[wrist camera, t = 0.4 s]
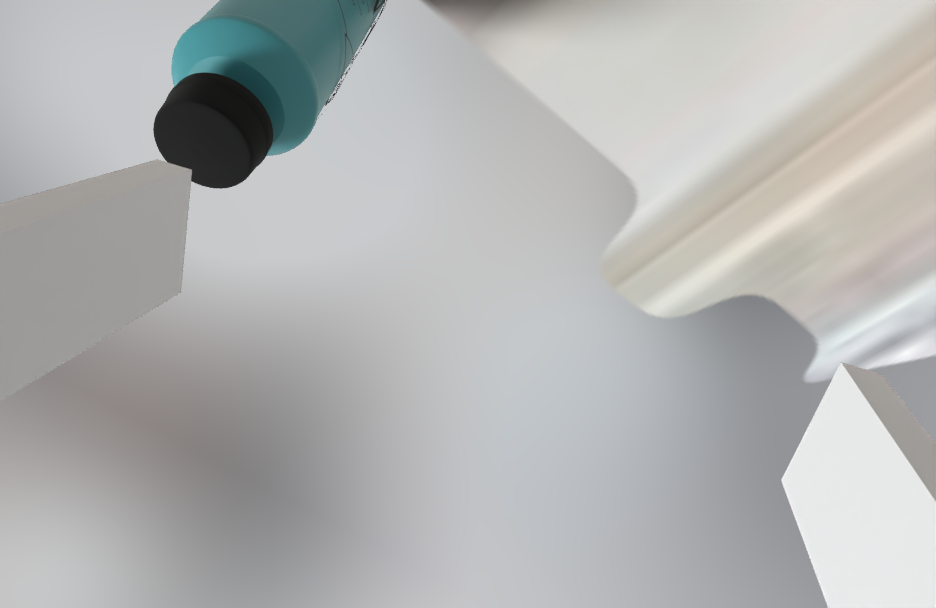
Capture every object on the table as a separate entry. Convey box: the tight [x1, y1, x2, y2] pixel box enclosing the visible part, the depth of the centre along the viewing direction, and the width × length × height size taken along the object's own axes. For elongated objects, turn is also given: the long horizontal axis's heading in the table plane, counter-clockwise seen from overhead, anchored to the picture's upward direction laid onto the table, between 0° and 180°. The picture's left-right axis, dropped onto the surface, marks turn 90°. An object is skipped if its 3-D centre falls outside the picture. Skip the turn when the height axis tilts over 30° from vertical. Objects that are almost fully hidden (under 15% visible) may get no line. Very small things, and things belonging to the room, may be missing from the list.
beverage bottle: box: [154, 0, 385, 188], centre depth 34 cm, size 6×7×20 cm
